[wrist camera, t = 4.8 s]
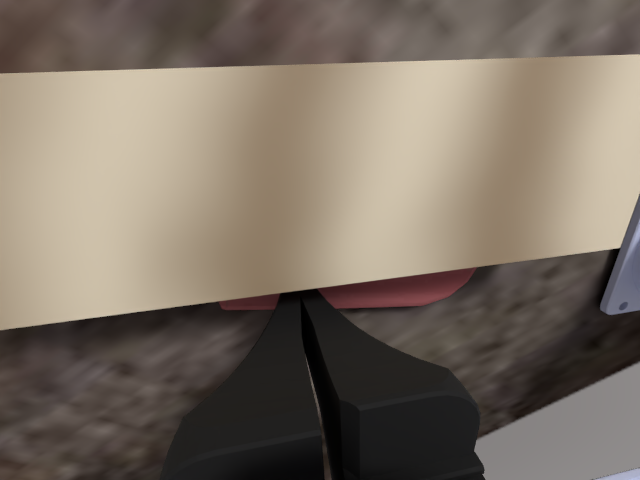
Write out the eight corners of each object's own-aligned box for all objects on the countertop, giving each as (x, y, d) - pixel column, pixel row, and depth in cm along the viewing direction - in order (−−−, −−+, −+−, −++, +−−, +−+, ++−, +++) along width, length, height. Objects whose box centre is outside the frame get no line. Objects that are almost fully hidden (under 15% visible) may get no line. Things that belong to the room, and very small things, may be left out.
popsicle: (63, 160, 9) (505, 195, 11) (93, 155, 10) (479, 187, 13) (93, 314, 10) (467, 311, 13) (114, 291, 12) (447, 293, 15)
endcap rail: (557, 75, 11) (690, 53, 8) (526, 215, 13) (620, 247, 10) (-96, 101, 8) (-360, 84, 5) (-6, 273, 10) (-145, 349, 7)
